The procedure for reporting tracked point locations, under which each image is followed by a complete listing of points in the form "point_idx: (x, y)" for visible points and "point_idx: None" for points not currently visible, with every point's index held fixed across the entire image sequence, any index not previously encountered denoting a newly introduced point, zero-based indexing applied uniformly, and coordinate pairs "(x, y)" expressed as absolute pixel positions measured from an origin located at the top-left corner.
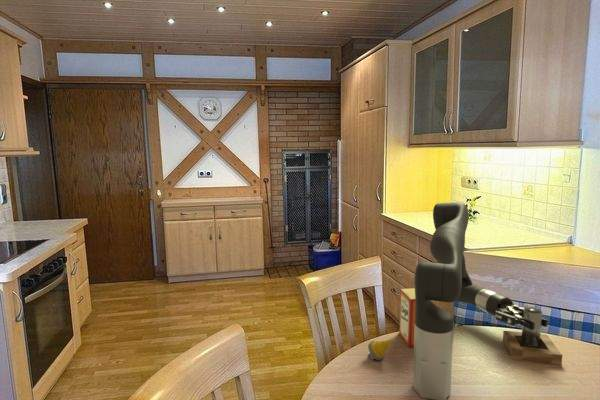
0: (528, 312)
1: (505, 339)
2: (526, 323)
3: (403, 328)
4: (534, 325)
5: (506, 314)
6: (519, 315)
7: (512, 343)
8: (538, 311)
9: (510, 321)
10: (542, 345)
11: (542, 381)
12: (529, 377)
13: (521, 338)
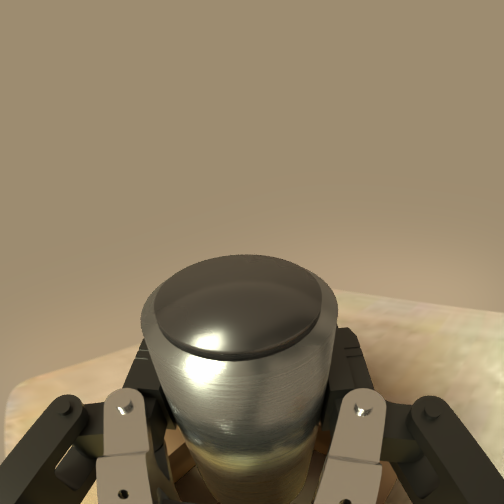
0: (331, 291)
1: None
2: (358, 350)
3: None
4: None
5: (470, 473)
6: (335, 437)
7: (382, 479)
8: (231, 261)
9: (410, 480)
10: (181, 462)
11: (389, 333)
12: (415, 352)
13: (290, 499)
